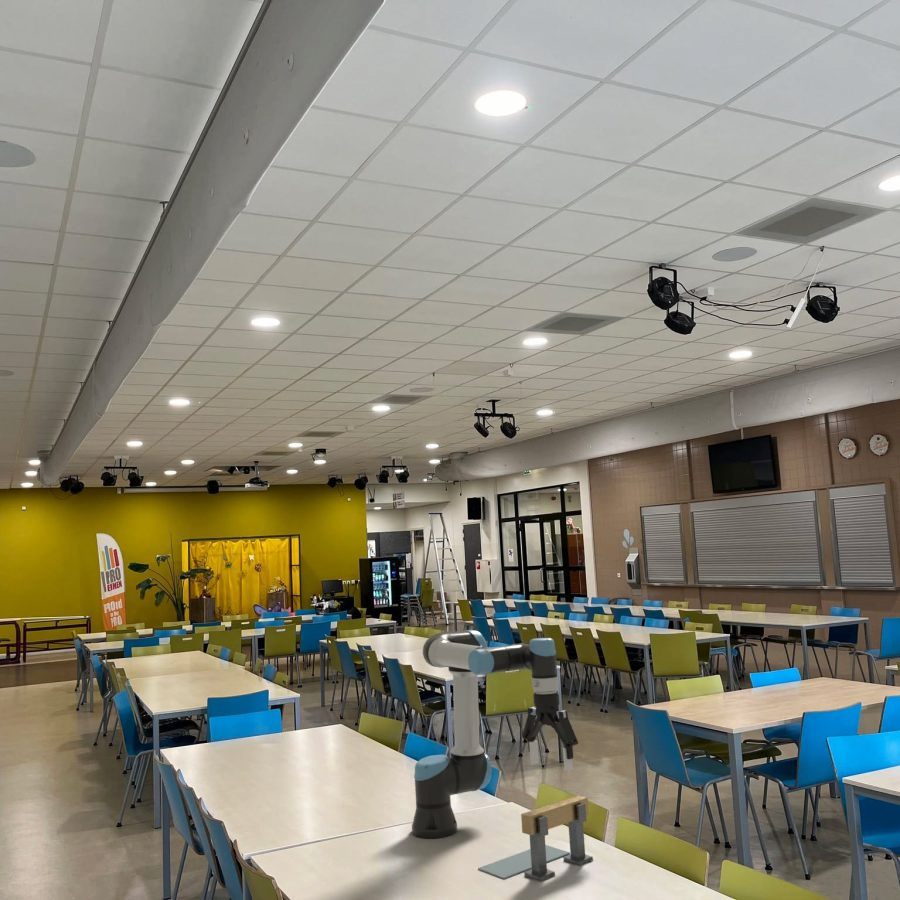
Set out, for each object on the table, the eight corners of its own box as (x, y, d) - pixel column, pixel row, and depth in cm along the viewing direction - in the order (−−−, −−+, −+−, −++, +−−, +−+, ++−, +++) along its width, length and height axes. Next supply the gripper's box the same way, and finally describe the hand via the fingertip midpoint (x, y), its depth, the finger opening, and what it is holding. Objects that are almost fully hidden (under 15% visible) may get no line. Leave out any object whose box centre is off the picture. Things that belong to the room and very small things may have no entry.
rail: (522, 832, 229) (521, 813, 229) (579, 813, 244) (578, 795, 245) (531, 835, 226) (529, 816, 227) (588, 815, 241) (587, 797, 242)
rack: (524, 876, 229) (520, 816, 231) (577, 855, 242) (573, 798, 245) (539, 881, 224) (535, 820, 226) (592, 860, 238) (588, 802, 240)
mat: (478, 869, 235) (478, 868, 235) (543, 845, 252) (543, 844, 253) (504, 879, 227) (504, 877, 227) (570, 853, 244) (570, 852, 244)
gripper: (507, 690, 248) (512, 763, 245) (568, 696, 229) (574, 776, 226) (525, 687, 253) (530, 759, 249) (586, 693, 234) (592, 770, 230)
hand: (551, 767), depth 237 cm, fingers open, 13 cm apart
